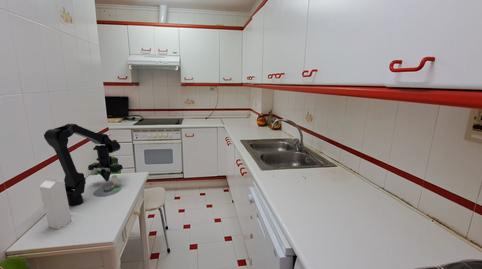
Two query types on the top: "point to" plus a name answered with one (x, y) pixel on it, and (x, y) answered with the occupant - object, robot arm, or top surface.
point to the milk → (55, 203)
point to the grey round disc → (101, 192)
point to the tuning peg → (115, 182)
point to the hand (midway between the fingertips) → (107, 181)
